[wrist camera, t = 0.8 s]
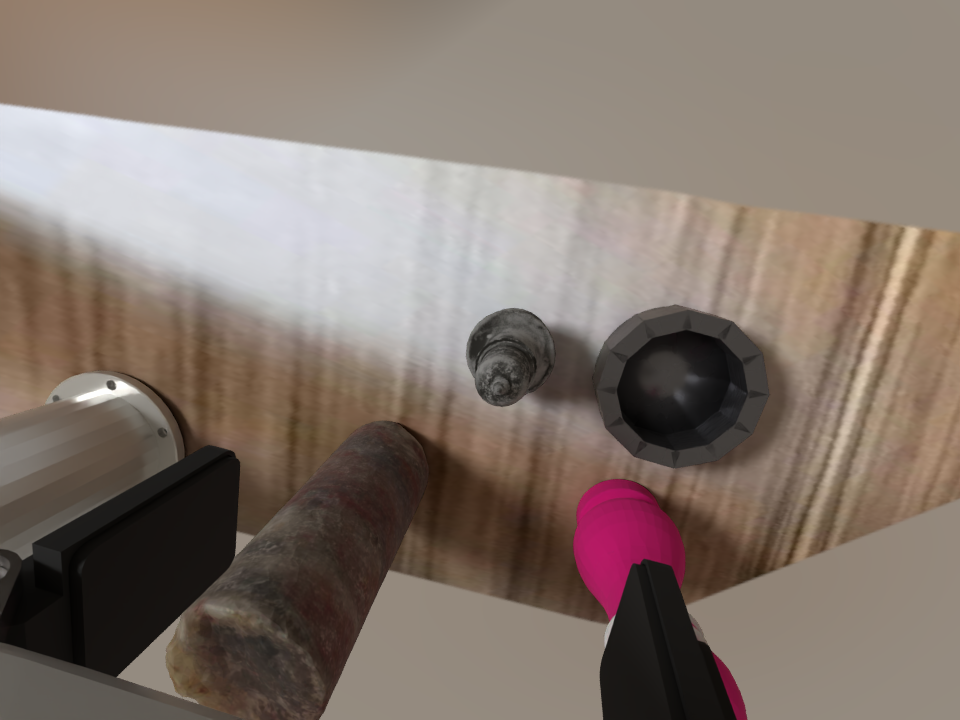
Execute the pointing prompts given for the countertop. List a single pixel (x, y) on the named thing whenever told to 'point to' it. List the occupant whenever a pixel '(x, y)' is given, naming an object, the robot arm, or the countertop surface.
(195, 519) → the robot arm
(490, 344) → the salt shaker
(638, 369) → the dark gray faceted bowl
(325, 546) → the candle
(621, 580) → the pepper mill
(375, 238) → the countertop surface
